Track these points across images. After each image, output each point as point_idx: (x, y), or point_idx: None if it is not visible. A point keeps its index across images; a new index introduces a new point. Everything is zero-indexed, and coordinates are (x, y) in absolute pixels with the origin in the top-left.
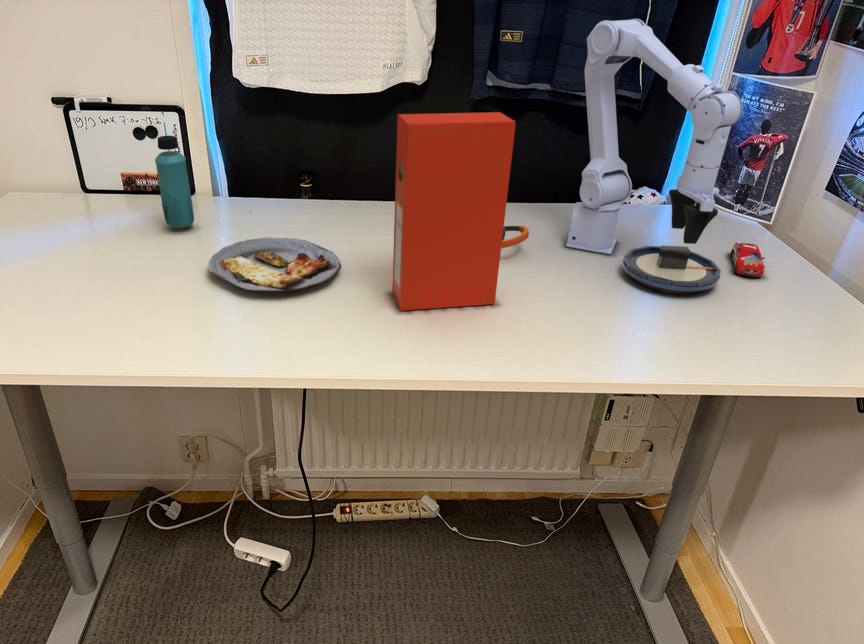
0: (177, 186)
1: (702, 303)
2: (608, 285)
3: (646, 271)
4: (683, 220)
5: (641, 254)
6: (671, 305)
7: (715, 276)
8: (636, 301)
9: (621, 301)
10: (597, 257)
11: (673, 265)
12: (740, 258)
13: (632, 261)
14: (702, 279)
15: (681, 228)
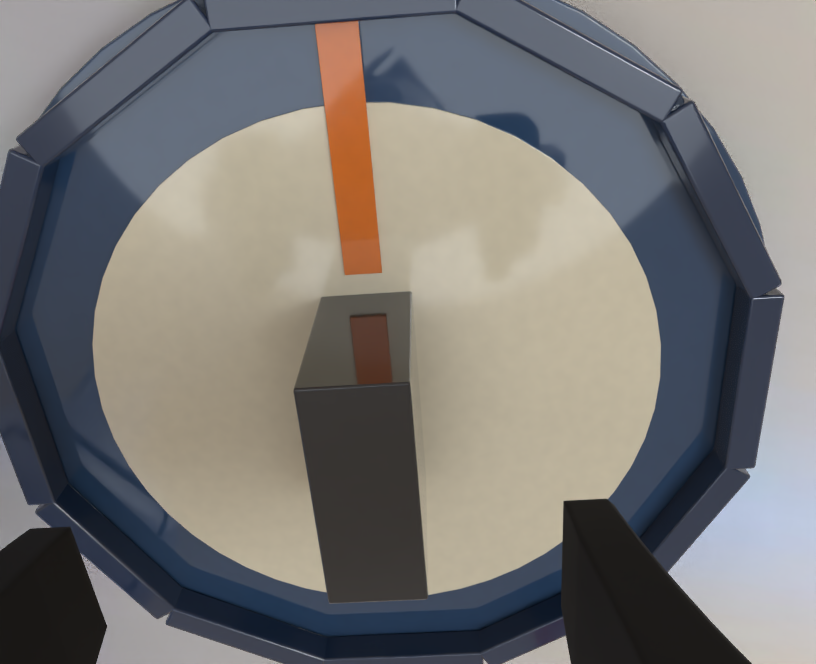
0: None
1: (783, 177)
2: (536, 655)
3: (506, 563)
4: (17, 639)
5: (175, 541)
6: (804, 392)
7: (630, 81)
8: (742, 561)
9: (741, 625)
10: (140, 661)
11: (419, 404)
12: None
13: (332, 608)
14: (608, 187)
15: (76, 547)
